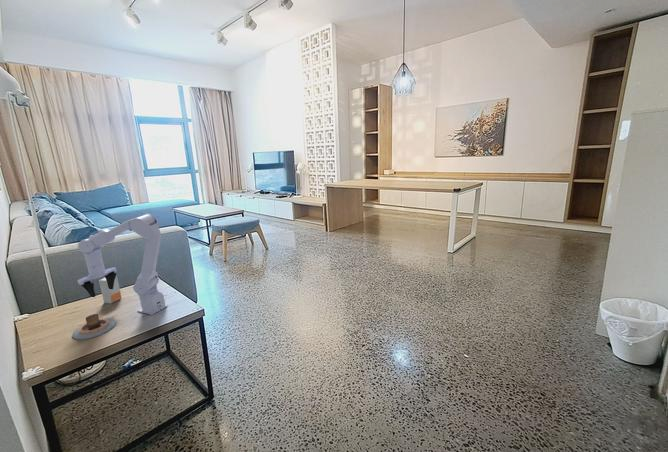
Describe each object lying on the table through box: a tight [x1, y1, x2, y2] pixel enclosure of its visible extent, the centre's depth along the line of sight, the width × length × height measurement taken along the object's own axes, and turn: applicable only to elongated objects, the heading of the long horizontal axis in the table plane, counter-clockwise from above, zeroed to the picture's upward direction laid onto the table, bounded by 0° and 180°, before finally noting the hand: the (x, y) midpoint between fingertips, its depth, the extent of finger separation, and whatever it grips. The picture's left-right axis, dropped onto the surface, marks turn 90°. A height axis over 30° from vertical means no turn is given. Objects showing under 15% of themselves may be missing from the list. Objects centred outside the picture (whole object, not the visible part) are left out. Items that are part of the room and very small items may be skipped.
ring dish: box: [71, 317, 117, 341], centre depth 118 cm, size 14×14×2 cm
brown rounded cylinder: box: [85, 313, 101, 330], centre depth 118 cm, size 4×4×5 cm
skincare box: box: [98, 275, 122, 304], centre depth 140 cm, size 6×4×12 cm
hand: (102, 292), depth 129 cm, fingers open, 7 cm apart
